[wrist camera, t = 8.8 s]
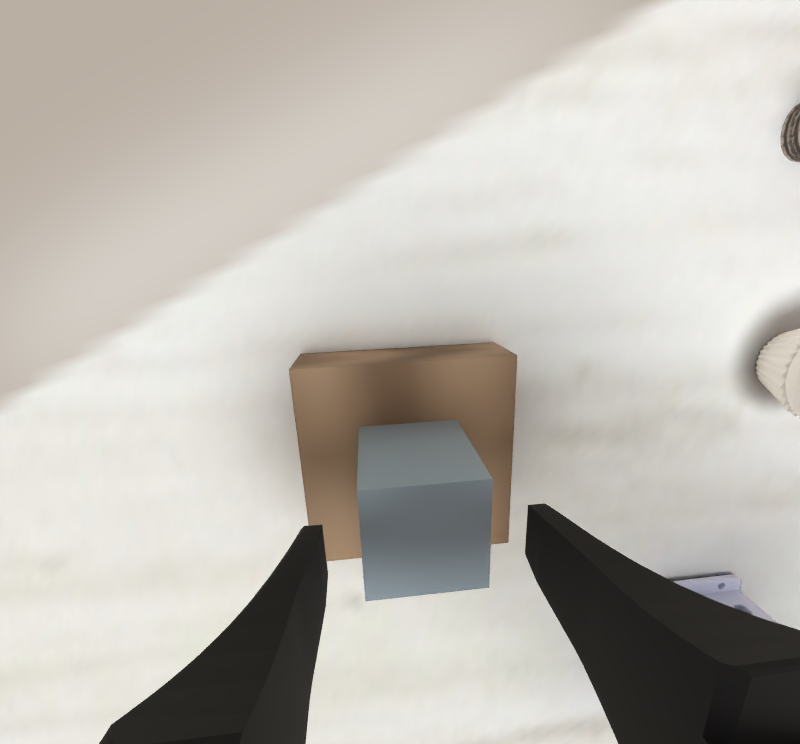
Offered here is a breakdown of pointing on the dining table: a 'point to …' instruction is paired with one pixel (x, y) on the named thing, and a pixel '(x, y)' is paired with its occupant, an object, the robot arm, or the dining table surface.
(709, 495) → the dining table surface
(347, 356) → the walnut block
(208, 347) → the dining table surface
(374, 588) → the slate cube
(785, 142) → the lighter
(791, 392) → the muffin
